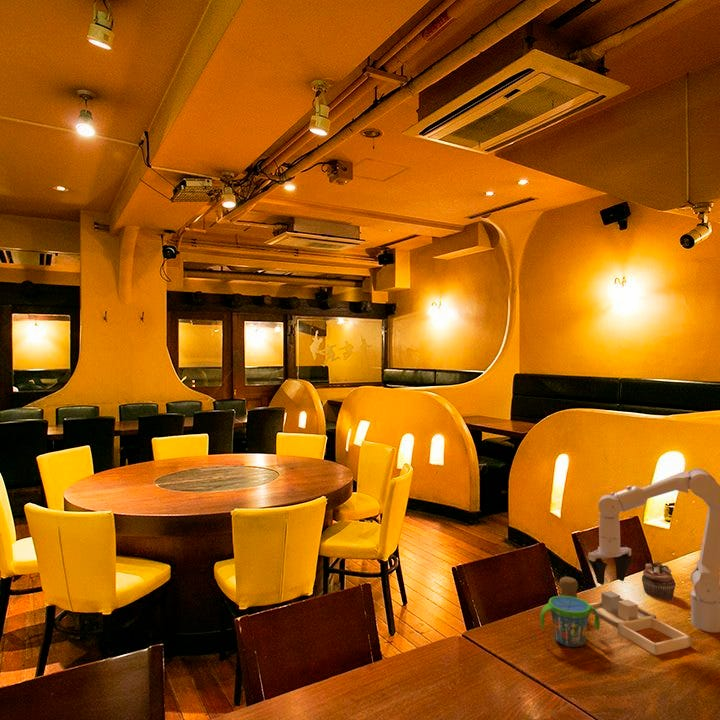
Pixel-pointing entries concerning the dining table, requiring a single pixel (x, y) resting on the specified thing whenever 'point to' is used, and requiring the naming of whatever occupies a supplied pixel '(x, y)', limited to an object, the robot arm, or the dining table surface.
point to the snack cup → (569, 619)
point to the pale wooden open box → (673, 644)
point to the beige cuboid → (627, 610)
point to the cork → (568, 586)
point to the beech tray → (616, 614)
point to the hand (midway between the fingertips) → (610, 581)
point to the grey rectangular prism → (610, 601)
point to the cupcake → (658, 581)
